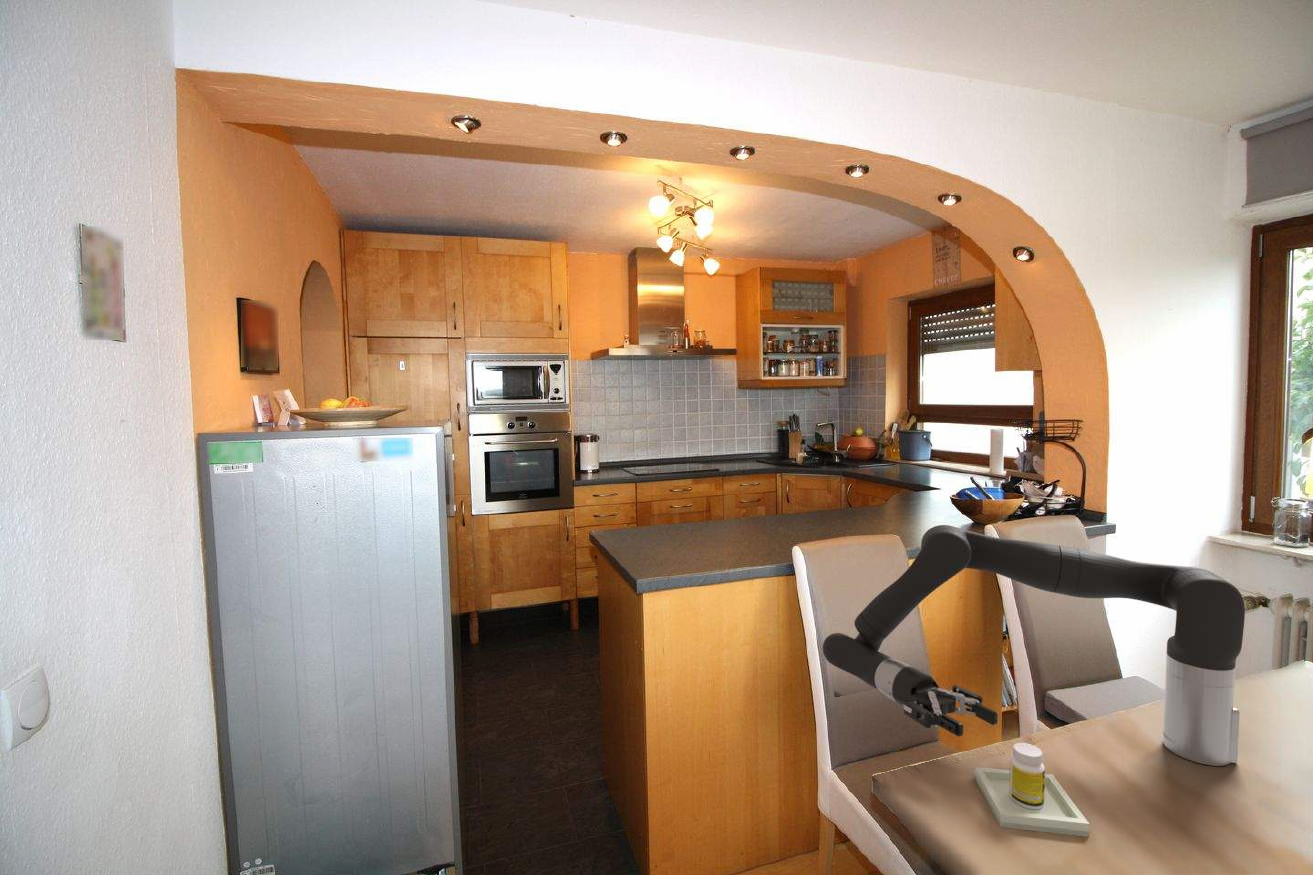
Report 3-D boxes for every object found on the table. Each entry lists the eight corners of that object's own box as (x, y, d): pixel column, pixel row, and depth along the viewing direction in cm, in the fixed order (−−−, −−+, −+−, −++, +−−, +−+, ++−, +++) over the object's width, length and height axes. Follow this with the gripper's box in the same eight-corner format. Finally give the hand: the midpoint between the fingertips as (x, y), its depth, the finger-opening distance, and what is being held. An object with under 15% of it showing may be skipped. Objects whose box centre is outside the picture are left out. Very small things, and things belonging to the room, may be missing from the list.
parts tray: (1051, 785, 101) (1052, 774, 101) (1088, 836, 89) (1089, 823, 89) (974, 778, 103) (974, 766, 103) (1000, 826, 91) (1000, 814, 91)
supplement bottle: (1049, 812, 93) (1050, 759, 93) (1015, 808, 94) (1017, 756, 94) (1036, 792, 98) (1037, 742, 97) (1004, 788, 99) (1005, 739, 98)
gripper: (877, 673, 115) (950, 713, 100) (931, 659, 121) (1007, 695, 106) (877, 711, 115) (949, 756, 101) (930, 695, 121) (1006, 736, 106)
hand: (979, 724), depth 103 cm, fingers open, 8 cm apart
